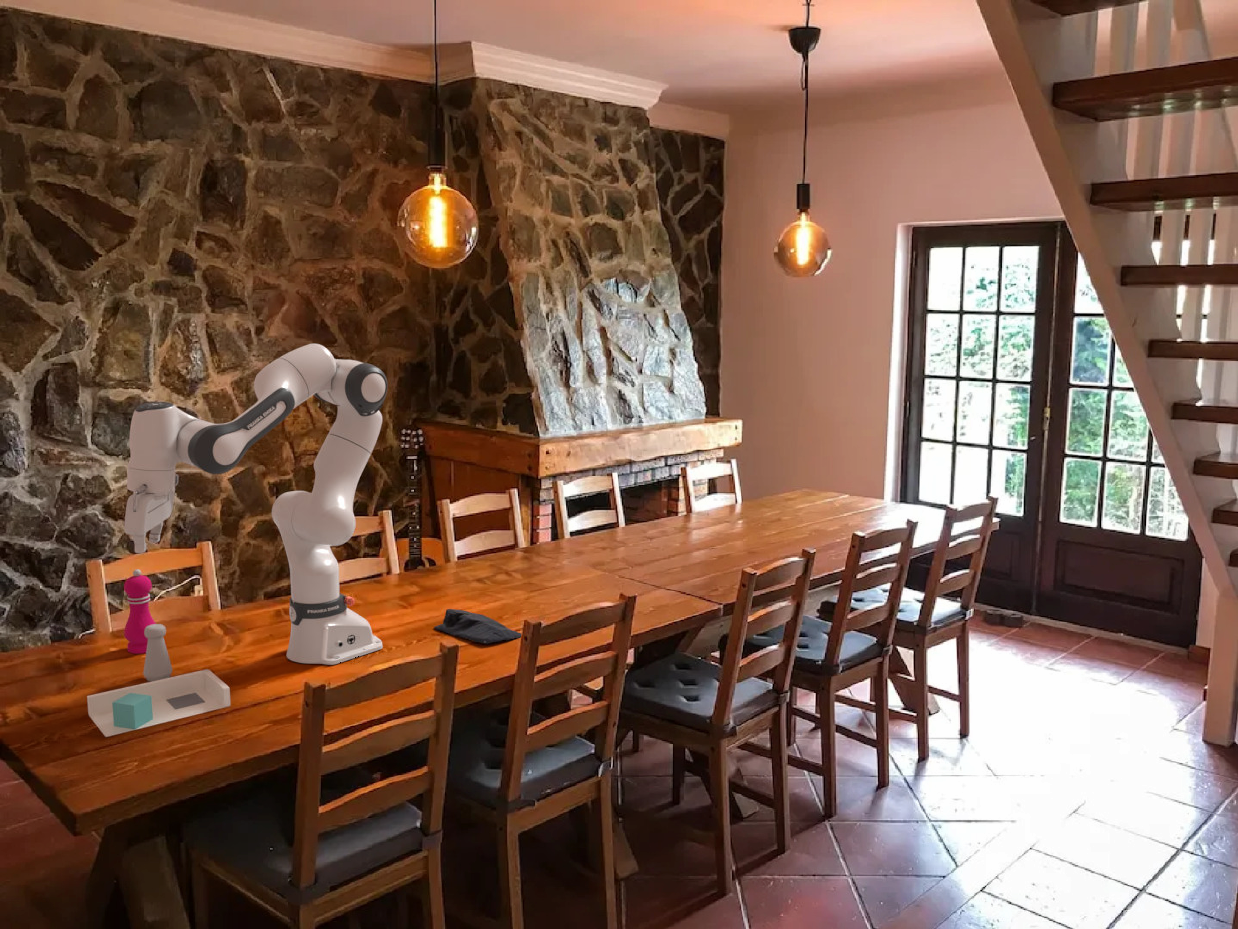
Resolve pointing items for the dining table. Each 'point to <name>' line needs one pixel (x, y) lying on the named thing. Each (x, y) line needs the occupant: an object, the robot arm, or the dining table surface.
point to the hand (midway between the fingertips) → (147, 547)
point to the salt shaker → (156, 654)
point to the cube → (132, 711)
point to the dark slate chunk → (475, 627)
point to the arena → (164, 699)
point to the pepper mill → (138, 612)
